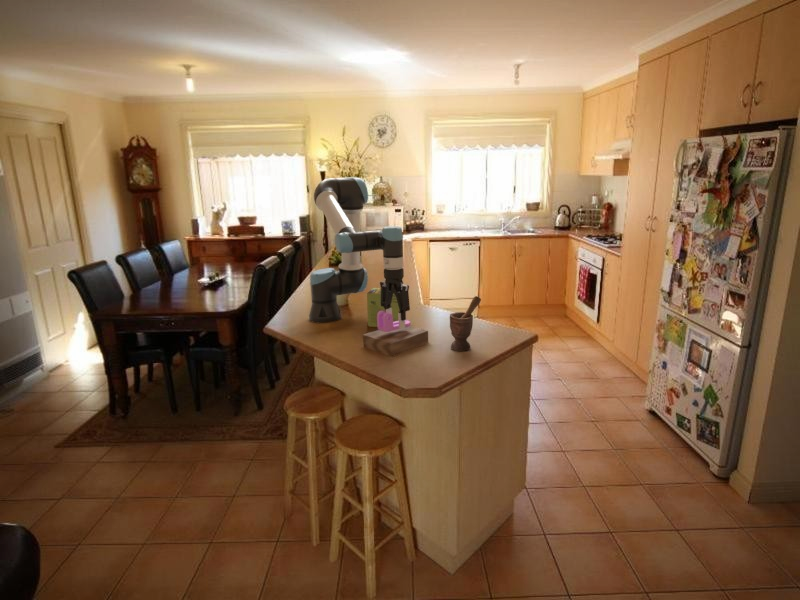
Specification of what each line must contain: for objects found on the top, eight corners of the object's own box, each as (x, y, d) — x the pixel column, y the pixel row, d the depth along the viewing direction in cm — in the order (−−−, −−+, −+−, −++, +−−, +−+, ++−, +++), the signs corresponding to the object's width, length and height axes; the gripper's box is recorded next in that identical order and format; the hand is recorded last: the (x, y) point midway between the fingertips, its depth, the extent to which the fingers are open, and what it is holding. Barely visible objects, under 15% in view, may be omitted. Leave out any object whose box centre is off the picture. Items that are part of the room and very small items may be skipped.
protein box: (401, 328, 207) (400, 293, 204) (367, 326, 211) (366, 292, 207) (406, 321, 217) (405, 288, 214) (373, 320, 220) (372, 287, 217)
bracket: (385, 332, 179) (384, 314, 177) (377, 328, 183) (376, 311, 182) (413, 325, 186) (412, 308, 184) (405, 322, 190) (404, 305, 189)
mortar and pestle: (468, 341, 188) (468, 292, 183) (483, 347, 181) (484, 296, 176) (445, 347, 182) (445, 297, 177) (460, 353, 175) (460, 301, 170)
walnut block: (363, 346, 185) (362, 334, 184) (399, 334, 199) (399, 322, 198) (391, 356, 174) (391, 343, 173) (428, 342, 188) (428, 330, 187)
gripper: (369, 266, 183) (372, 323, 189) (404, 272, 170) (406, 333, 175) (383, 263, 188) (385, 319, 194) (419, 269, 175) (420, 328, 180)
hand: (395, 326), depth 185 cm, fingers closed on bracket, 6 cm apart
